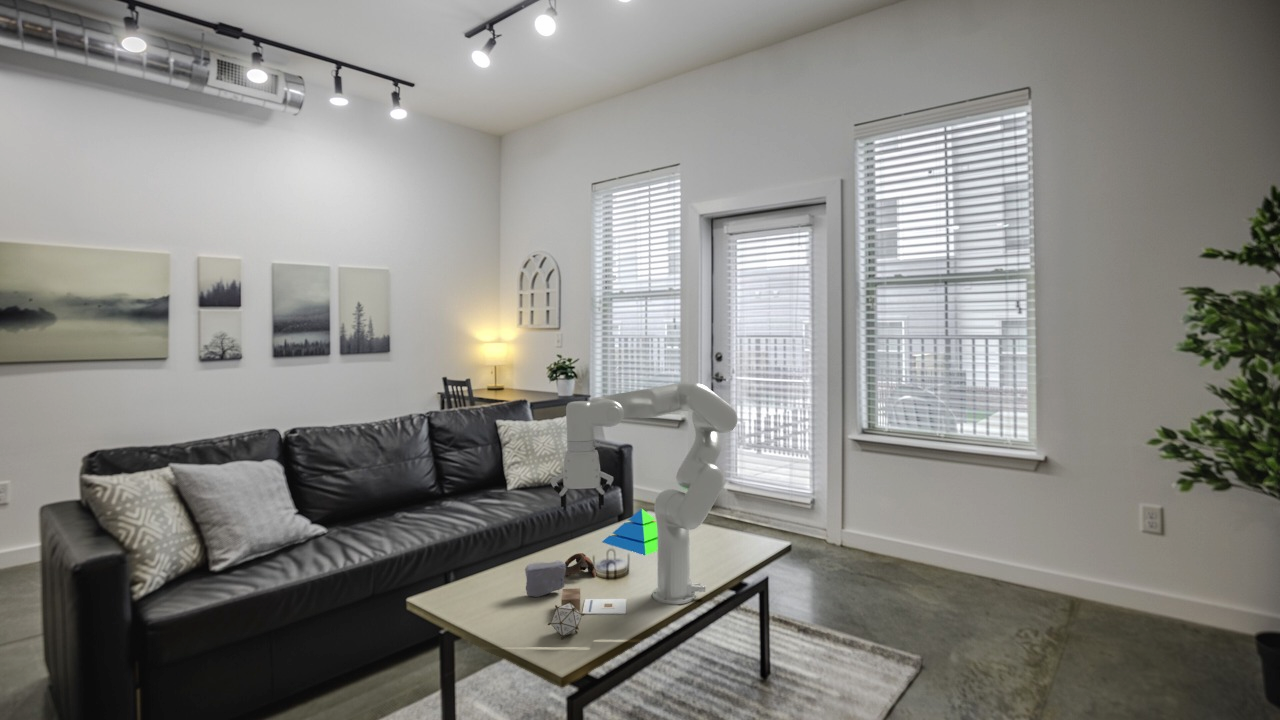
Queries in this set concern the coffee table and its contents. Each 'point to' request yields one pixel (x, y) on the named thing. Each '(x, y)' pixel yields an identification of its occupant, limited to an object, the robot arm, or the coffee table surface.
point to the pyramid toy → (636, 534)
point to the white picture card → (604, 606)
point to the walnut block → (571, 597)
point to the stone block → (544, 577)
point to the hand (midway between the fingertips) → (582, 508)
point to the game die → (566, 619)
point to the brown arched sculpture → (579, 564)
